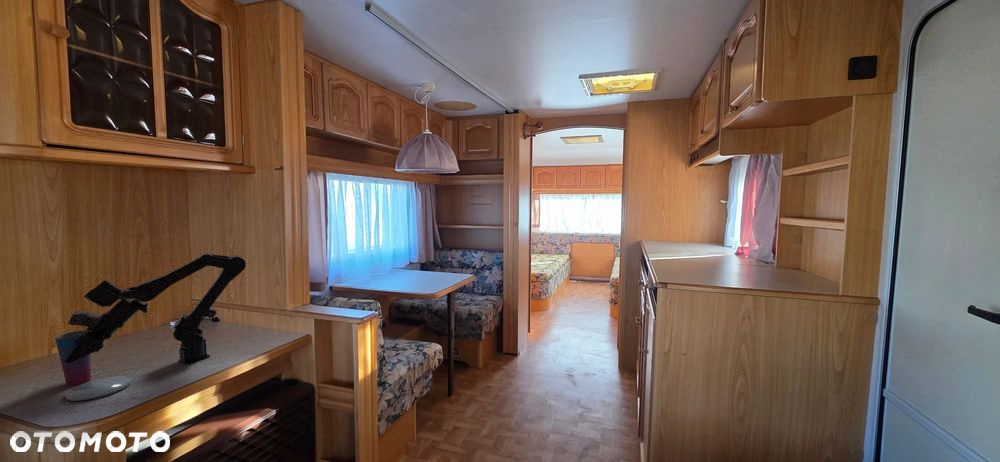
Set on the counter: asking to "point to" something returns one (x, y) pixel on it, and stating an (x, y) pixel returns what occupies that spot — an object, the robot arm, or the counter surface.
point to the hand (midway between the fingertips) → (69, 358)
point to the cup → (77, 369)
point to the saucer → (98, 388)
